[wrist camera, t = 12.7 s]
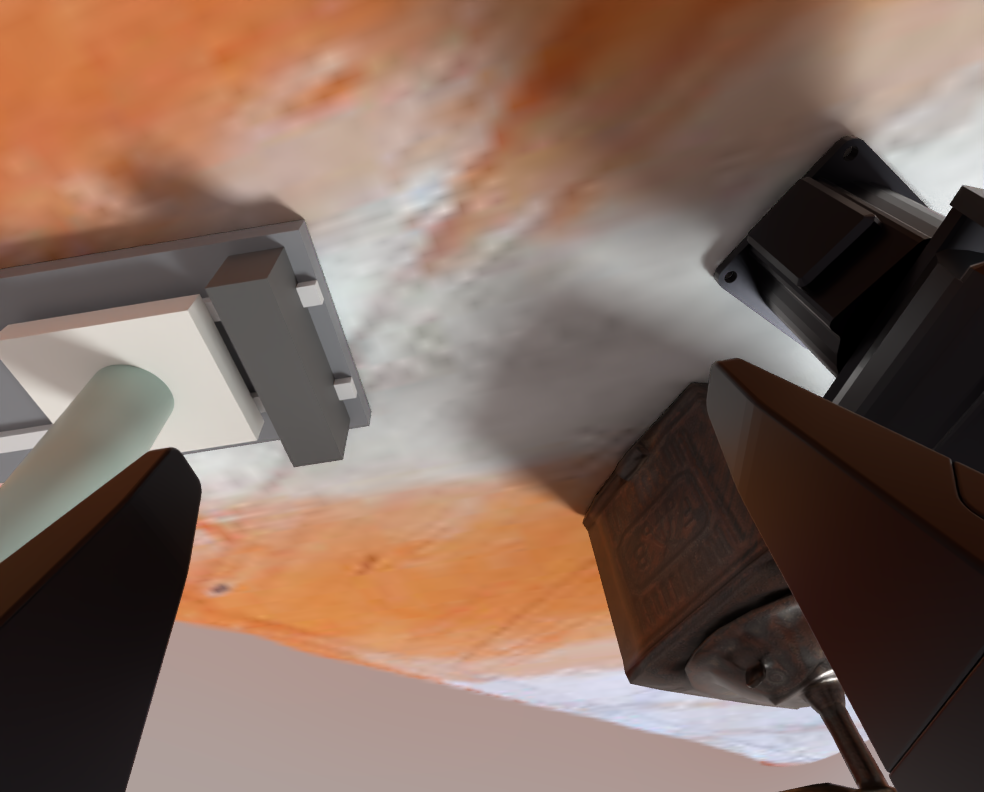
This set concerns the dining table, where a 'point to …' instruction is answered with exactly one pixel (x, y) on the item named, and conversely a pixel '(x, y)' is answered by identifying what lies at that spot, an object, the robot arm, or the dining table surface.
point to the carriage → (116, 401)
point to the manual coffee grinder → (708, 586)
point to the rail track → (237, 315)
